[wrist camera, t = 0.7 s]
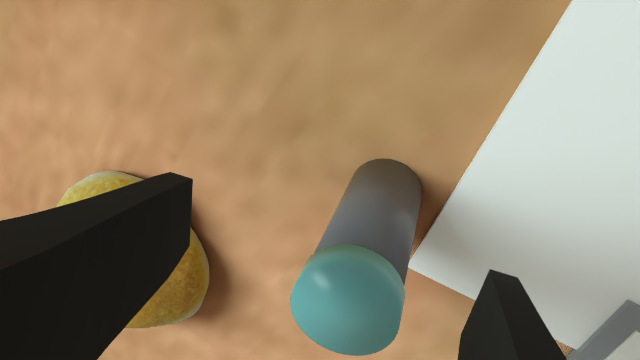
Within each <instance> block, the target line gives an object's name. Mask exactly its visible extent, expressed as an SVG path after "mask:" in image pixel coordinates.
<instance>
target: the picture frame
mask: <svg viewBox="0 0 640 360" xmlns="http://www.w3.org/2000/svg"><path fill="white" fill-rule="evenodd" d="M566 359H567V360H640V305H638V304H636V303H634V302H632V301H630V300H628V299H627V300H626V301H625V302H624V303H623V304H622V305H621V306H620V307H619V308H618V309H617V310H616V311H615V312H614V313H613V314H612V315H611V316H610V317H609V318H608V319H607V320H606V321H605V322H604V323H603V324H602V325H601V326H600V327H599V328H598V329H597V330H596V331H595V332H594V333H593V334H592V335H591V336H590V337H589V338H588V339H587V340H586V341H585V342H584V343H583V344H582V345H581V346H580V347H579V348H578V349H577V350H575V349H573V350H572V351H571V352H570V353H569V354H568V355H567V356H566Z"/></svg>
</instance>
